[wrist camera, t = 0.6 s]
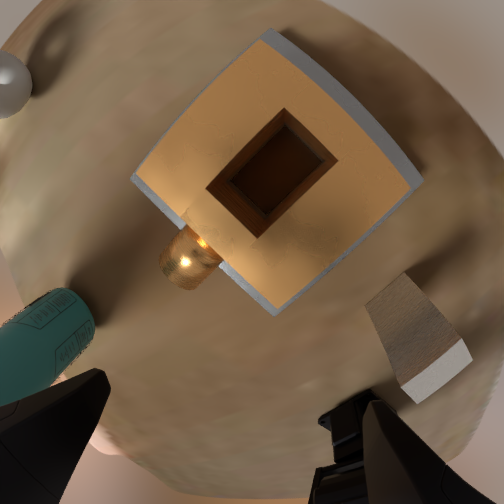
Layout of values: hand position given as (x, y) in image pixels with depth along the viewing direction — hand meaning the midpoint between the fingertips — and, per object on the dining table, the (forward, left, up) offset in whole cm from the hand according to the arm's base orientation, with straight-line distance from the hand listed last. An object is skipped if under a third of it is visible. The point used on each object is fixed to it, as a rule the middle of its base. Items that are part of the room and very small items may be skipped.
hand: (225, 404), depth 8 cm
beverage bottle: (+9, +17, -13) cm, 23 cm away
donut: (+30, +4, -13) cm, 33 cm away
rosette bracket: (+4, -5, -13) cm, 14 cm away
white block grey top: (-9, -5, -13) cm, 17 cm away
